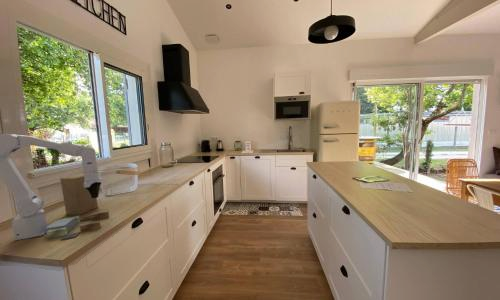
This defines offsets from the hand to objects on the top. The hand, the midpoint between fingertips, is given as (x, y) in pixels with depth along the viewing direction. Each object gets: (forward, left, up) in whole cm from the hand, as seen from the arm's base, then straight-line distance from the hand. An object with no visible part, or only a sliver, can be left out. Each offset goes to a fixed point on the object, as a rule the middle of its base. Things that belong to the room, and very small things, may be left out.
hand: (95, 197), depth 99 cm
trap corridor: (-4, -8, -11) cm, 14 cm away
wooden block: (-12, +16, -11) cm, 23 cm away
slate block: (-11, -8, -11) cm, 18 cm away
